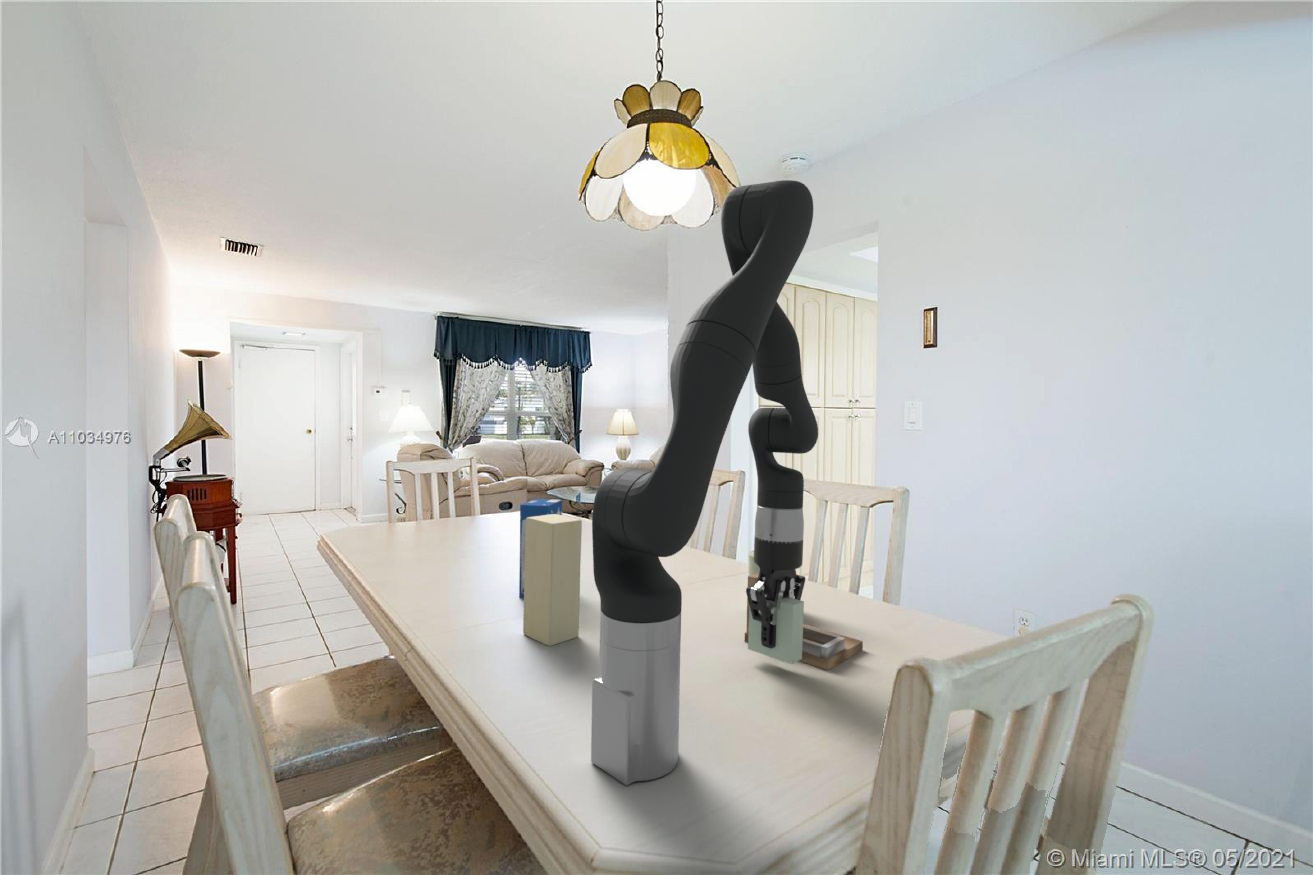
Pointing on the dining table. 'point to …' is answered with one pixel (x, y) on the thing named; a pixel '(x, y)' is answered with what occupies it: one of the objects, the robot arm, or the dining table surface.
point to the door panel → (781, 632)
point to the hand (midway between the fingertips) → (774, 643)
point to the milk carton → (526, 510)
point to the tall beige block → (552, 578)
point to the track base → (819, 642)
